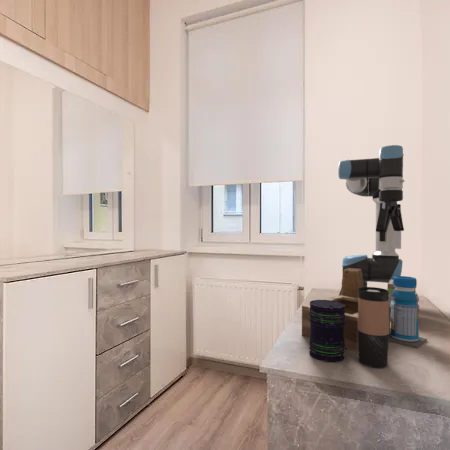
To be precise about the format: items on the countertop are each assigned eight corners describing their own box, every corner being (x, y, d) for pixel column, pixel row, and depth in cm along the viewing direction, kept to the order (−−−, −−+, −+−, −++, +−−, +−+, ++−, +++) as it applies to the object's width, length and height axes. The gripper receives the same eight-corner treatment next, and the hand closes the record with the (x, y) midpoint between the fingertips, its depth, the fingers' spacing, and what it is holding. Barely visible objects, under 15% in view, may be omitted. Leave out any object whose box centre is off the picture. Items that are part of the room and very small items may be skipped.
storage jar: (304, 349, 96) (304, 299, 96) (335, 348, 96) (336, 299, 96) (316, 363, 86) (316, 308, 86) (351, 362, 86) (351, 307, 87)
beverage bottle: (403, 343, 99) (404, 279, 100) (384, 334, 107) (384, 275, 108) (425, 341, 101) (426, 279, 102) (404, 333, 109) (405, 275, 110)
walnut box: (339, 319, 127) (339, 294, 127) (390, 331, 113) (390, 303, 113) (301, 335, 108) (301, 305, 108) (356, 351, 94) (356, 317, 94)
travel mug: (392, 362, 87) (392, 289, 87) (383, 371, 81) (384, 293, 81) (363, 354, 92) (363, 285, 92) (353, 362, 86) (354, 289, 86)
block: (359, 321, 125) (359, 270, 125) (339, 318, 129) (339, 269, 129) (365, 315, 133) (365, 268, 134) (347, 312, 138) (347, 266, 138)
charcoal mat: (394, 332, 111) (394, 331, 111) (426, 340, 104) (426, 338, 104) (383, 339, 104) (383, 337, 104) (417, 348, 97) (417, 346, 97)
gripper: (389, 186, 101) (389, 253, 101) (413, 191, 118) (412, 248, 119) (365, 188, 106) (365, 251, 107) (391, 192, 124) (391, 247, 124)
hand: (390, 249), depth 113 cm, fingers open, 13 cm apart
